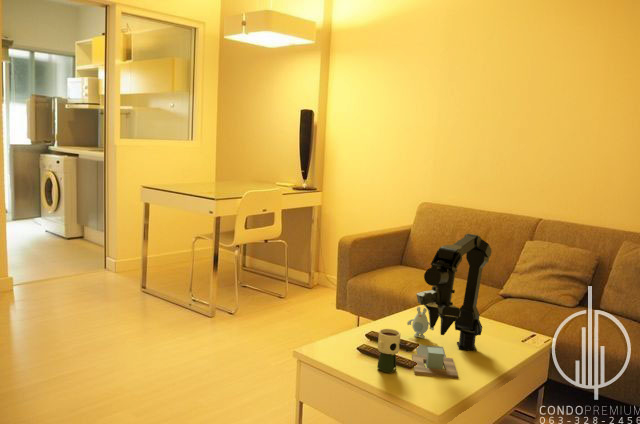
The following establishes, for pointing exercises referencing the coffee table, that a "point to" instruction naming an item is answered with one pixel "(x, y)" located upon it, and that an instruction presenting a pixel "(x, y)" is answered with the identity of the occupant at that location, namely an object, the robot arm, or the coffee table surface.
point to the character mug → (388, 349)
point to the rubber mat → (423, 349)
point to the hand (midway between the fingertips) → (436, 331)
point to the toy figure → (420, 323)
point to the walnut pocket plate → (448, 372)
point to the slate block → (434, 358)
